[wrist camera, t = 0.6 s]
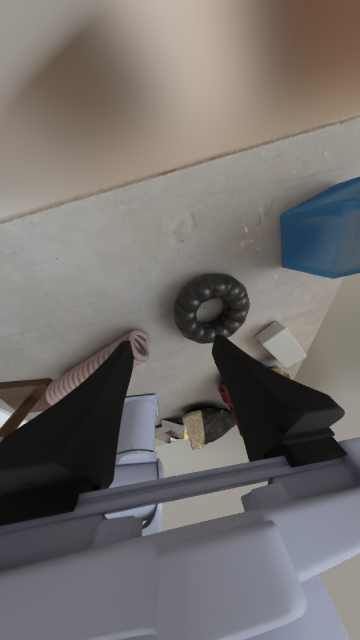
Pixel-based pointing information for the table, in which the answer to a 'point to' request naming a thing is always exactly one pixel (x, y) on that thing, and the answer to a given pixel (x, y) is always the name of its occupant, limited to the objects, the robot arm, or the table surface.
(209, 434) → the mineral specimen
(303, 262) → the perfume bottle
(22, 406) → the peg rack
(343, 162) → the table surface
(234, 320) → the ribbed ring
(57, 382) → the coil
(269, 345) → the multiport hub
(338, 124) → the table surface
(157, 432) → the diorama
